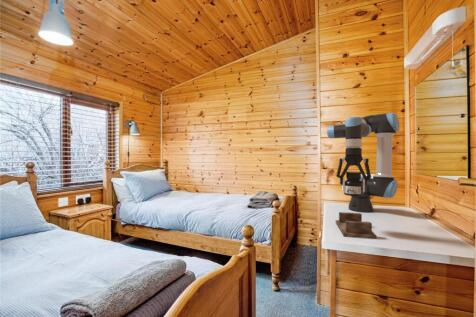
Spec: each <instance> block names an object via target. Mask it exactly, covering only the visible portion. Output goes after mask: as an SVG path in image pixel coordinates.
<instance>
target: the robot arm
mask: <svg viewBox="0 0 476 317" xmlns="http://www.w3.org/2000/svg"><path fill="white" fill-rule="evenodd" d="M399 130H400V120H399V118H398V116H397V114H396V113H395V112H390V113H388V112H386V113H378V114H371V115H365V116H362V117H361V116H351V117H346V118H345V122H344V123H341V124H333V125H329V126H328V127H327V129H326V135H327V137H328V138H329V139H342V138H343V139H344V138H345V152H344V153H345V156H344V157H343V158H339V159H338V167H337V171H336V175H335V176H336V177H337V178H338V179H339V184H340V185H341V191H342V192H343V193H344V192H345V181H346V178H345V176H346V172H347V171H348V170H349V168H350V167H352V166H355V167H357V169H358V171H359V172H361V179H360V180H361V182H363V195H362V196H350V200H349V203H348V204H347V205H348V209H349V210H350V211H354V212H357V213H360V212H361V213H370V212H371V213H372V212H373V211H374V207H373V204H372V200H371V196H372V197H378V198H385V199H393V198H395V195H396V194H397V190H398V185H399V184H398V182H399V181H398V180H397V179H395V176H394V175H393V174H392V171H393V169H392V168H393V142H394V141H393V140H394V139H393V137H394V136H395V135H396V133H397V132H398V131H399ZM371 133H374V136H376V160H375V163H376V166H375V174H373V175H371V170H370V165H369V161H370V159H369V158H363V156H362V155H363V154H362V153H363V149H362V144H363V142H362V141H363V140H362V139H363V138H366V137H369V136H370V135H371ZM344 162H345V163H346V164H345V167H344V168H343V163H344ZM361 162H363V163H364V168H365V171H364V169H363V167H362V165H361ZM342 168H343V171H342Z"/></svg>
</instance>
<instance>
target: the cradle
mask: <svg viewBox="0 0 476 317" xmlns="http://www.w3.org/2000/svg"><path fill="white" fill-rule="evenodd" d="M362 216H363V215H362V212H361V213H360V212H345V211H344V212H343V211H340V212H339V211H338V220H337V219H335V224H336V226H337V228H338V229H339V231H340V233H341V234H342V236H343V237H344V238H345V237H346V238H359V239H373V240H374V239H377V235H376V234H375V232H373V230H372V229H373V228H372V227H373V223H372V222H371V221H363V219H362V218H363V217H362Z"/></svg>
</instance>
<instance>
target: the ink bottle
mask: <svg viewBox="0 0 476 317" xmlns="http://www.w3.org/2000/svg"><path fill="white" fill-rule="evenodd" d="M361 176H362V174H361V172H360V171H356V170H355V171H352V170H351V171H348V170H347V172H346V174H345V177H346V178H345V192H343V194H344V195H345V196H349V197H351V196H362V195H363V182H361V180H360V179H361Z"/></svg>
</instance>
